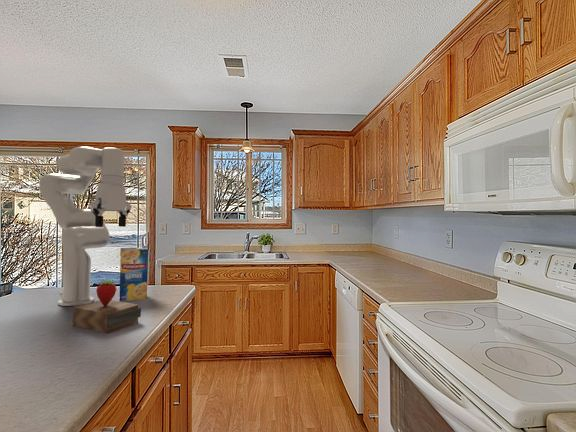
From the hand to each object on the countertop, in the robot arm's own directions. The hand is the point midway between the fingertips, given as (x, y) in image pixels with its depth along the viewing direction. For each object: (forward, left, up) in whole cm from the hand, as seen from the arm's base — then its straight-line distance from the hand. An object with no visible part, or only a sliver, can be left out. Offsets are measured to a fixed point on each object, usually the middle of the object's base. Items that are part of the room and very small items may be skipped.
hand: (111, 226), depth 122 cm
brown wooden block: (+10, -9, -32) cm, 35 cm away
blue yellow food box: (-10, +20, -32) cm, 39 cm away
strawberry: (+10, -9, -26) cm, 30 cm away
